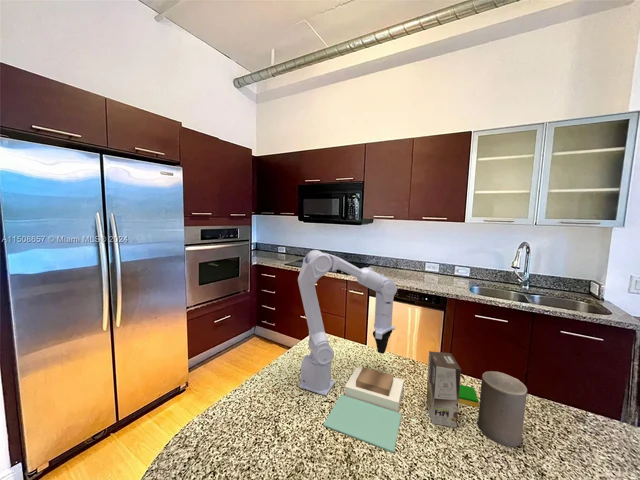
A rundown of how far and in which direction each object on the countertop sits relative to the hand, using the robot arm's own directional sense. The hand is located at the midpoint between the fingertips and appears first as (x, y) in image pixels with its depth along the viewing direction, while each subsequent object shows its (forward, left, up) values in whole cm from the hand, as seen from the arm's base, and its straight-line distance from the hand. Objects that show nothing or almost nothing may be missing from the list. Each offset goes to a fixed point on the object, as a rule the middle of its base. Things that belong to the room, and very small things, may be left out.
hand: (381, 351), depth 91 cm
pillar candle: (+33, -10, -10) cm, 36 cm away
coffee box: (+19, -10, -10) cm, 24 cm away
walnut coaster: (0, -10, -6) cm, 11 cm away
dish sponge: (+22, +1, -10) cm, 24 cm away
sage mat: (0, -22, -9) cm, 24 cm away
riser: (0, -9, -9) cm, 13 cm away
